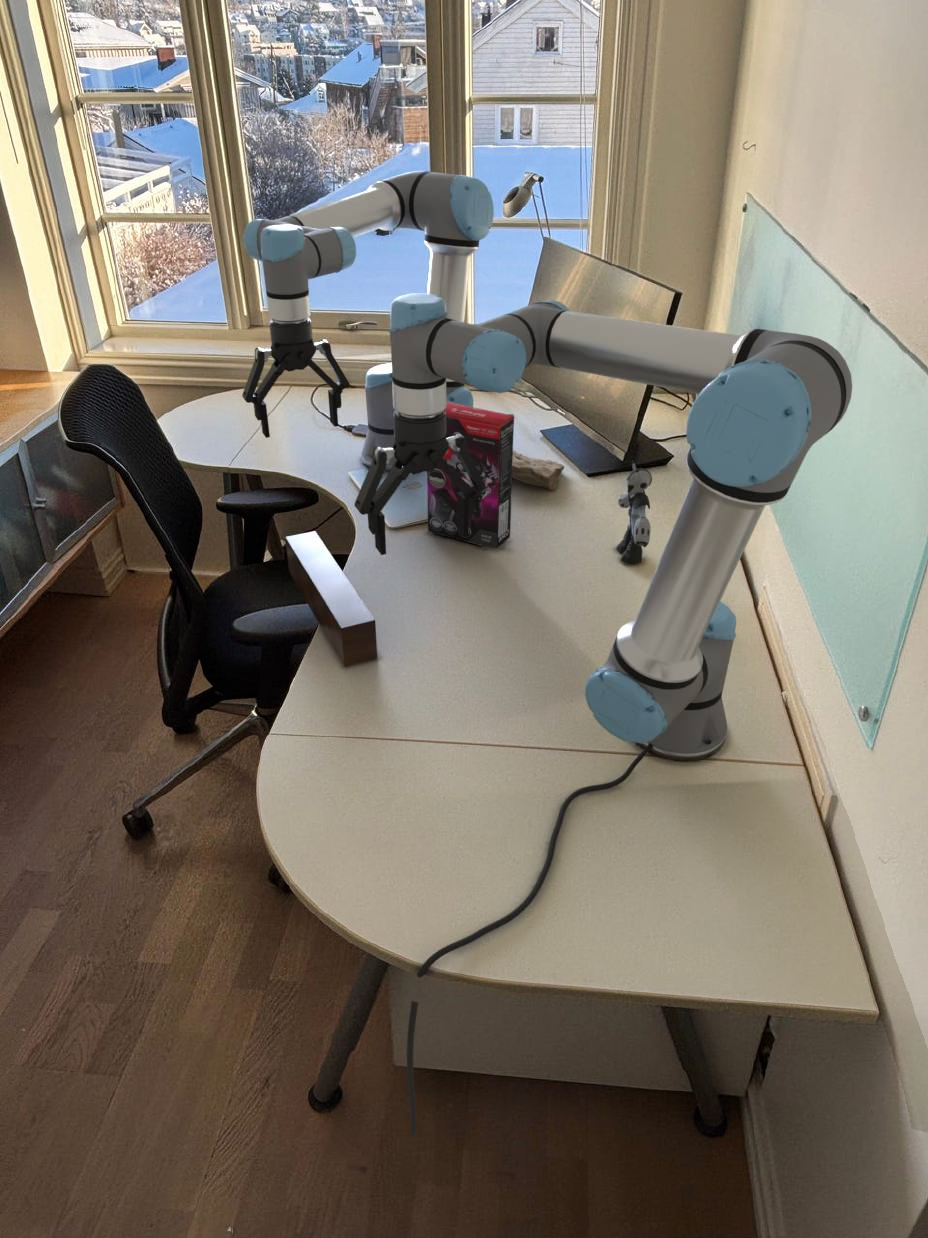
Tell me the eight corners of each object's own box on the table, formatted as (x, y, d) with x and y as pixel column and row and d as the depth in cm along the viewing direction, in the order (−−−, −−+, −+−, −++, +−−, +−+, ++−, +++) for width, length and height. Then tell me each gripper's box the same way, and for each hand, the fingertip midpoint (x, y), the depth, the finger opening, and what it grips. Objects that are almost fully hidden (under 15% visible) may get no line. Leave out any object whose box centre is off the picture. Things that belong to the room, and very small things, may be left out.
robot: (652, 579, 180) (665, 486, 169) (627, 579, 180) (639, 486, 169) (631, 531, 196) (642, 443, 185) (609, 531, 196) (618, 444, 185)
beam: (377, 658, 158) (375, 620, 154) (344, 667, 156) (341, 628, 152) (318, 566, 184) (315, 530, 179) (289, 572, 182) (285, 536, 177)
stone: (462, 471, 213) (468, 446, 211) (478, 460, 226) (484, 436, 224) (548, 498, 210) (555, 473, 207) (560, 485, 223) (567, 461, 221)
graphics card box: (425, 532, 195) (422, 409, 180) (440, 519, 200) (440, 398, 185) (497, 552, 189) (501, 426, 173) (511, 537, 194) (517, 414, 179)
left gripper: (348, 305, 174) (355, 413, 186) (216, 320, 165) (232, 432, 177) (362, 316, 168) (368, 426, 180) (225, 332, 159) (241, 446, 171)
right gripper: (487, 388, 137) (484, 516, 149) (326, 413, 128) (337, 546, 140) (510, 405, 131) (505, 536, 143) (343, 432, 123) (353, 569, 135)
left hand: (300, 429), depth 178 cm, fingers open, 13 cm apart
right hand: (422, 541), depth 142 cm, fingers open, 13 cm apart
